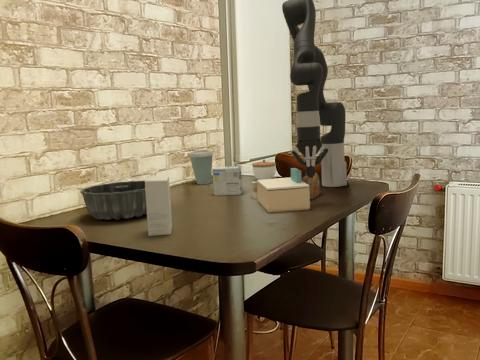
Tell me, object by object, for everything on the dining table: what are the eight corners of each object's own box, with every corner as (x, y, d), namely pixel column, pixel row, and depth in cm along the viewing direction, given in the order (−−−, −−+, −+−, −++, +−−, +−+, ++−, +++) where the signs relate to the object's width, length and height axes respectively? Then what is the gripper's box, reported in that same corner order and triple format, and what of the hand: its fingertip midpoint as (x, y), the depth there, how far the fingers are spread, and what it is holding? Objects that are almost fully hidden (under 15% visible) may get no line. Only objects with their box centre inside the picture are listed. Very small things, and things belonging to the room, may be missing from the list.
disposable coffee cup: (214, 184, 217) (211, 151, 215) (189, 185, 217) (187, 152, 215) (215, 181, 227) (213, 149, 225) (192, 182, 228) (190, 150, 225)
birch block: (263, 196, 183) (263, 180, 182) (266, 198, 179) (265, 182, 178) (252, 197, 182) (251, 181, 182) (254, 199, 178) (253, 183, 177)
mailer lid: (294, 178, 173) (294, 165, 172) (309, 186, 154) (308, 172, 154) (256, 181, 171) (256, 168, 171) (267, 190, 153) (266, 175, 152)
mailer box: (295, 198, 174) (294, 179, 173) (310, 209, 156) (309, 187, 154) (257, 201, 172) (256, 182, 171) (268, 213, 154) (267, 191, 153)
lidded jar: (251, 182, 218) (250, 161, 216) (254, 178, 228) (253, 158, 227) (275, 181, 216) (274, 160, 214) (277, 177, 226) (276, 157, 225)
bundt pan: (81, 213, 171) (78, 185, 170) (155, 203, 180) (153, 177, 179) (85, 229, 147) (82, 196, 145) (171, 217, 156) (168, 186, 154)
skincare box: (151, 229, 142) (146, 176, 139) (173, 227, 142) (169, 174, 140) (148, 236, 133) (143, 180, 131) (172, 234, 134) (167, 178, 132)
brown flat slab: (309, 201, 169) (308, 177, 167) (300, 201, 170) (299, 177, 169) (321, 193, 182) (320, 171, 181) (313, 193, 183) (312, 171, 182)
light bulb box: (242, 191, 195) (241, 165, 193) (240, 195, 188) (239, 167, 186) (216, 192, 196) (214, 166, 194) (213, 196, 189) (211, 168, 188)
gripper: (324, 123, 164) (325, 174, 167) (286, 126, 162) (288, 177, 165) (331, 124, 157) (333, 177, 159) (291, 126, 155) (293, 180, 158)
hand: (310, 177), depth 162 cm, fingers closed
